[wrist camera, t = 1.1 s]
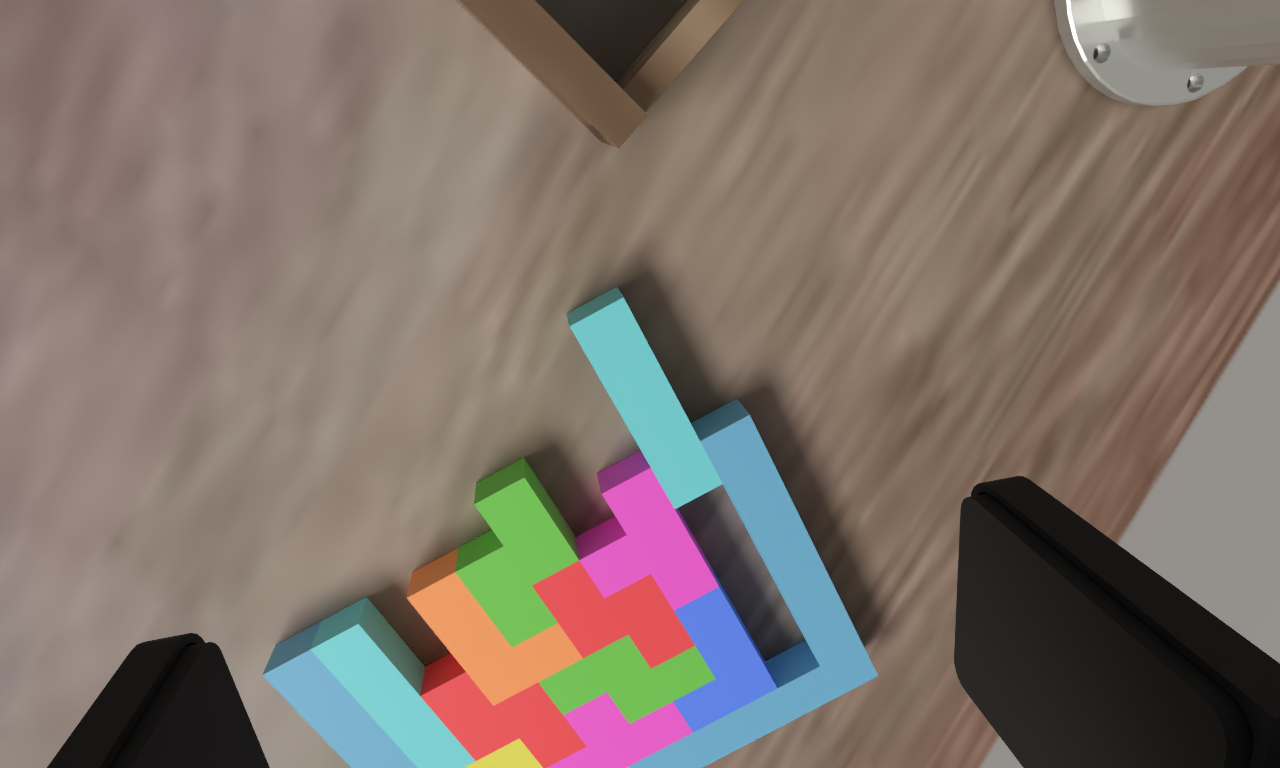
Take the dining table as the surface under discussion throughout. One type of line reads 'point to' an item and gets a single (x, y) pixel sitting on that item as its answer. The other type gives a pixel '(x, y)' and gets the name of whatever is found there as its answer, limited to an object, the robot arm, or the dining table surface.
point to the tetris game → (589, 611)
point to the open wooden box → (579, 80)
